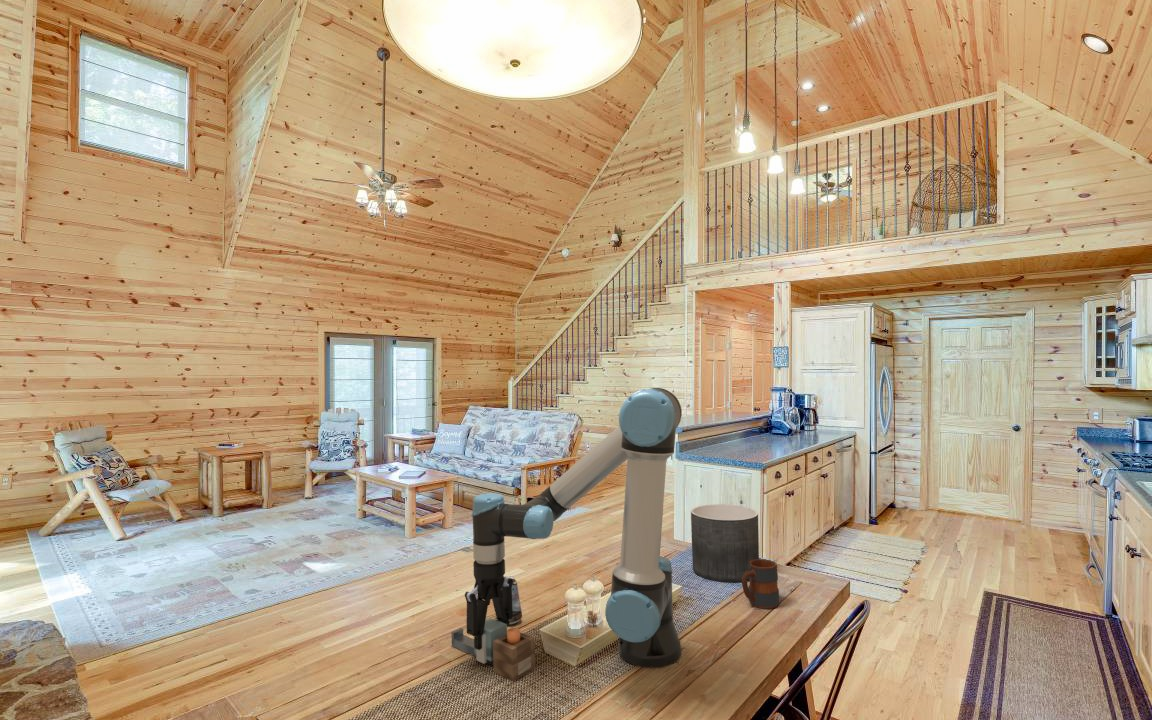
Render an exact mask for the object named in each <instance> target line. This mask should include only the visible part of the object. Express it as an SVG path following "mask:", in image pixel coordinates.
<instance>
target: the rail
mask: <svg viewBox="0 0 1152 720" xmlns="http://www.w3.org/2000/svg"><path fill="white" fill-rule="evenodd" d="M450 634H451V635H450V637H451V647H453V648H456V649H458V650H460V651H462V652H463V653H466V654H468V655H471V656H472V657H475V658H476V654H474V638H473V637H469V636H467V635H465V634H464V628H462V627H459V628H457V629H455V630H453V631H451V633H450ZM486 664H490V665H492V666H493V661H489V660H487V659H486Z"/></svg>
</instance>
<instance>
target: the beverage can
mask: <svg viewBox="0 0 1152 720" xmlns="http://www.w3.org/2000/svg"><path fill="white" fill-rule="evenodd" d="M506 577H508V578H512V579H513V584H512V609H513V617H512V619H509V620H508V621H510V623H509V625H513V624H516V623H518V622H520V620H521V619H522V618H523V612H522V607H521V600H520V599H521V598H520V593H519V588H518V581H517V580H516V578H515V577H514V576H513V575H512V576H511V575H508V576H506ZM501 590H502V588H501ZM507 613H508V612H507Z"/></svg>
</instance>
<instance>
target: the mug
mask: <svg viewBox="0 0 1152 720" xmlns="http://www.w3.org/2000/svg"><path fill="white" fill-rule="evenodd" d="M748 577H749V578H750V580H749V586H748V581H747V578H748ZM778 580H779V575H778V565H777V564H776V562H774V561H773V560H768V559H761V558H759V559H757V560H752V561H750V563H749V571H748V572H745V573H744V574H743V576H742V582H741V584H742V586H741V587H742V590H743V593H744V595H745V597H746V598H747V599H748V601H749V603H750V605H751V606H753V607H755V608H759V609H764V610H772V609H775V608H777V607H778V606H779V604H780V590H779V587H778V586H779V585H778Z"/></svg>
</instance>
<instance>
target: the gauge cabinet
mask: <svg viewBox="0 0 1152 720" xmlns="http://www.w3.org/2000/svg"><path fill="white" fill-rule="evenodd" d="M535 647H536V646H535V637H533V636H530V635H528V634H526V633H523V632H520V642H518V643H516V644H514V645H513V646H512V645H510V644H507V635H505V636H503V637H501V638H499V639H497V640H495V641H493V665H492V666H493V673H494V674H498V675H499V676H502V677H504V678H506V679H507V680H510V681H512V682H514V681H516V680H518V679H519V678H521V677H523V676H525V675H526V674H528V673H530V672H532V671H533V670H534V669H536V656H535V655H536V652H535V651H536V650H535Z"/></svg>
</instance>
